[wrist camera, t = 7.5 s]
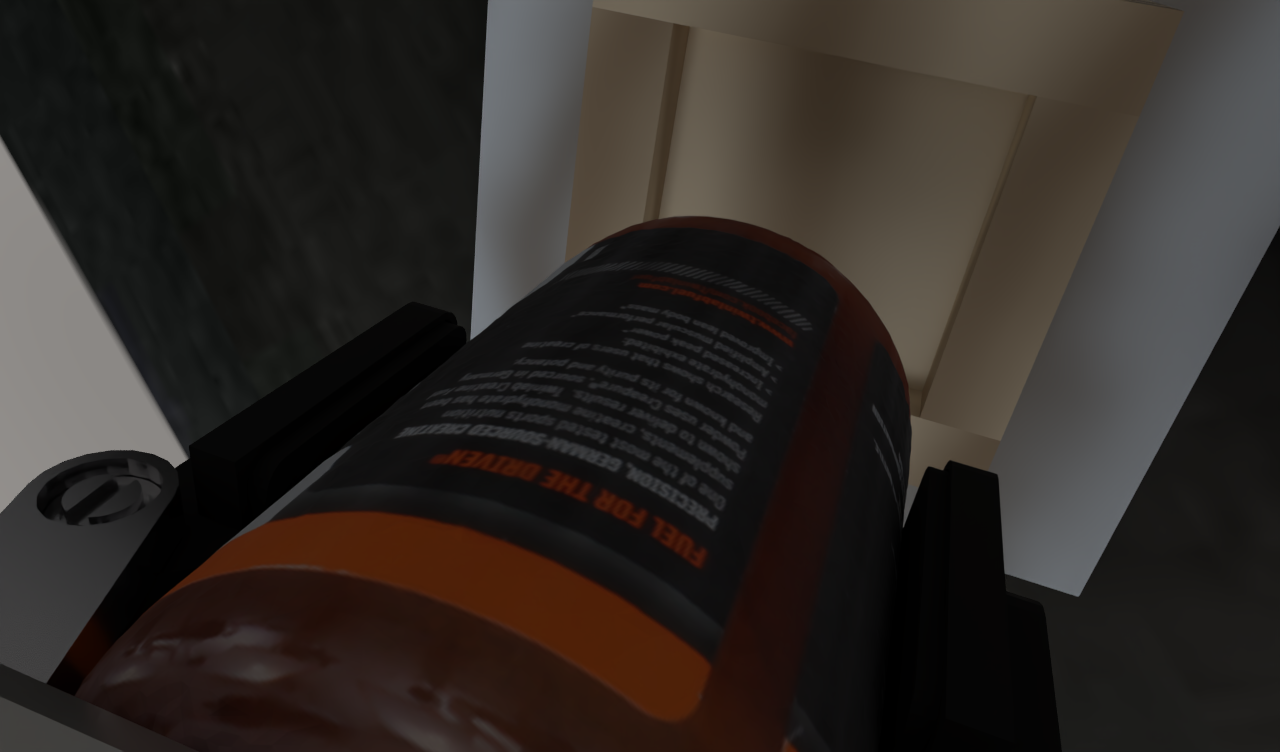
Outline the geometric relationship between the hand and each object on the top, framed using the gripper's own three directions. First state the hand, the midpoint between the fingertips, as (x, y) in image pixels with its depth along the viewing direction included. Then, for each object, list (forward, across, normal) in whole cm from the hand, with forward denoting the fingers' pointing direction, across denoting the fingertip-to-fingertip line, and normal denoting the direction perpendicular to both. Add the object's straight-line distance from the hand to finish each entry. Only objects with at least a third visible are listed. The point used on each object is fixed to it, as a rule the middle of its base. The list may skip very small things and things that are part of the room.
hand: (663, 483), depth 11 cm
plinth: (+16, 0, 0) cm, 16 cm away
